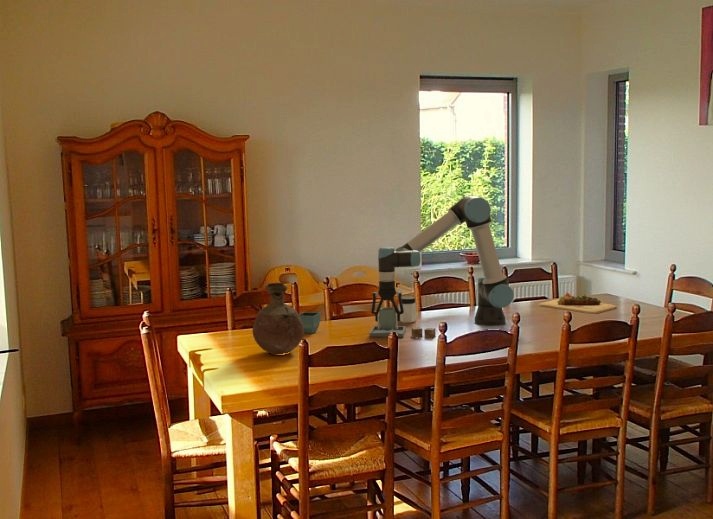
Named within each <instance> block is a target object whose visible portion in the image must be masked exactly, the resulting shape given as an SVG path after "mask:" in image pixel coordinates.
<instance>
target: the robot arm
mask: <svg viewBox="0 0 713 519" xmlns="http://www.w3.org/2000/svg"><path fill="white" fill-rule="evenodd" d="M491 211H492V208H491V205H490V202H489V201H488V200H487V199H485V198H484V197H482V196H479V195H475V196H474V195H466V196H464V197H462V198H460V199H459V200H458V201H457V202H456V203H455V204H453V205H451V206H450V207H449V208H448V210H447V212H446V213H445V214H443V215H442V216H441V217H440V218H438V219H437V220H435V221H434V222H433V223H432V224H430V225H429V226H427V227H426V228H425V229H423V230H422V231H421V232H420V233H418V234H417V235H415V236H413V238H411V239H410V240H408V241H407V242H406V243H404V244H403V245H402V246H399V247H397V248H396V249H395V247H393V246H383V247H381V246H380V247H379V249H378V256H377V261H378V262H377V263H378V280H379V281H378V291H377V292H375V291H374V292H372V294H371V296H372V298H373V299H372V302H371V303H372V304H371V314H372V315H374V317H375V318H374V319H375V320H374V321H375V322H377V326H378V329H380V320H379V310H380V308H382V304H383V303H384V301H390V302H391V303H392V304H391V305H392V307H393V308H395V311H396V325H395V326H396V329H398V326H399V322H401V321H400V314H403V313H404V309H403V304H402V298H401V297H403V293H402V291H400V292H399V291H397V290H396V281H395V279H396V270H395V268H409V267H410V268H413V267H419V266H420V265H421V252H422V251H424V250H425V249H426V248H428V247H429V246H431V245H432V244H434V242H436V241H437V240H438V239H440V238H441V237H443V236H444V235H446V234H447V233H448V232H450V231H451V230H453V228H455V227H457V226H458V225H459V226H461V225H462V224H464V223H465V224H466V225H465V226H466V228H467V229H468V230H470V231H471V234H472V237H473V241H474V244H475V249H476V251H477V255H478V259H479V263H480V266H481V269H482V270H481V271H482V274H483V276H479V277H478V280H477V310H476V312H475V315H474V323H475V324H477V325H481V326H500V325H504V324H506V315H505V313H504V310H503V309H504V308H506V307H508V306H510V305H511V303H512V301H513V300H514V295H515V292H514V290H513V289H512V287H511V286H510V284H509V280H508V277H507V275H506V274H504V273H503V271H502V268H501V263H500V259H499V257H498V253H497V250H496V249H497V248H496V244H495V242H494V237H493V235H492V231H491V227H490V226H491V223H492V218H491V213H492V212H491ZM378 296H379V297H380V300H379V304H378V305H377V308H376V303H377V298H378ZM395 296H396V297H397V298H398V305H397V303H396V300H395V298H394V297H395ZM399 305H400V310H401V311H399Z"/></svg>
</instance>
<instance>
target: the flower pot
mask: <svg viewBox="0 0 713 519" xmlns="http://www.w3.org/2000/svg"><path fill="white" fill-rule="evenodd" d="M298 315H299V316H300V318H301V320H302V323H303V334H314V333H316V332H317V331H318V329H319V326H320V323H321V312H314V311H313V312H310V311H309V312H308V311H304V312H301V313H298Z"/></svg>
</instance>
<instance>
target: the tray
mask: <svg viewBox="0 0 713 519" xmlns="http://www.w3.org/2000/svg"><path fill="white" fill-rule="evenodd" d="M406 331H407V327H406V326H405V325H403V326H402V325H398V329H396V325H395V328H394V329H393V330H390V331H385V330H383V329H382V328H381V326H380V329H378V325H373V326H372V328H371V329H370V331H369V333H368V337H369V338H373V339H374V338H376V339H377V338H383V339H384V338H386V339H387V338H388V336H389V334H390V333H391V332H396V333H397V334H398V337H399V338H398V339H401V338H402V339H403V338H404V337H405V333H406Z"/></svg>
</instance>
